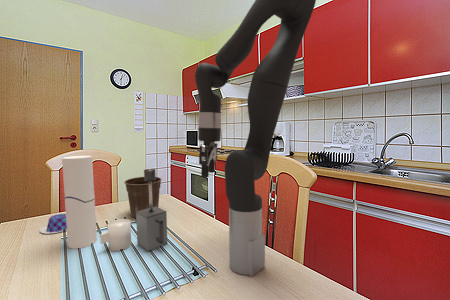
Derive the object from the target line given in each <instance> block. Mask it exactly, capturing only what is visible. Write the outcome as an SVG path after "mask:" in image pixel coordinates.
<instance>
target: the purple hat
mask: <svg viewBox="0 0 450 300" xmlns="http://www.w3.org/2000/svg"><path fill="white" fill-rule="evenodd" d="M64 229H65V231H67V223H66V213H58V214H54V215H52V216H50V217H49V218H48V222H47V225H45V226H43V227H42V228H40V229H39V232H40V233H42V234H45V235H46V234H48V235H49V234H51V233H52V234H57V233H61V232H63V230H64Z"/></svg>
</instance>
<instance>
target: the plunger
mask: <svg viewBox="0 0 450 300" xmlns="http://www.w3.org/2000/svg"><path fill="white" fill-rule="evenodd" d="M143 177H144V181H149V206H150V213H151V212H153V203H152V181H154V180H156V177H157V176H156V169H155V168H145V169H143Z"/></svg>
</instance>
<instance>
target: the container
mask: <svg viewBox="0 0 450 300" xmlns="http://www.w3.org/2000/svg"><path fill="white" fill-rule="evenodd" d="M61 160H62V161H61V164H62V177H63V192H64V205H65V206H64V207H65V214H66V223H67V230H66V233H67V234H66V237H67V238H66V239H67V246H68V248H69V249H73V250H76V249H78V248H79V249H83V248H86V247H89V246H92V245H93V244H96V242H97V240H98V238H97V219H96V218H97V217H96V216H97V215H96V200H95V199H96V198H95V183H94V165H93V156H92V155H73V156H64V157H61ZM91 243H93V244H92V245H91Z"/></svg>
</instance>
